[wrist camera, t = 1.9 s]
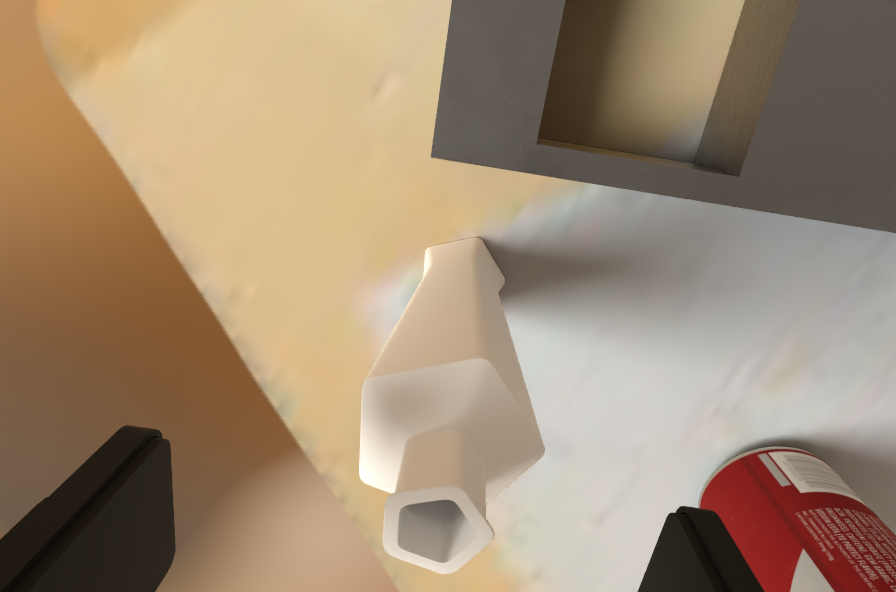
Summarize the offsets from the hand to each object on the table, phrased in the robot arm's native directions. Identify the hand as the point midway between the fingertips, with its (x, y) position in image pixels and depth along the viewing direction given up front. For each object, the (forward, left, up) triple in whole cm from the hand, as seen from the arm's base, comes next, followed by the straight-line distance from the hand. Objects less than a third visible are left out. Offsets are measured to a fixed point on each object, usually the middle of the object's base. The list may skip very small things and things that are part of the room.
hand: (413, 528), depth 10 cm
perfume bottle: (-1, 0, -15) cm, 15 cm away
